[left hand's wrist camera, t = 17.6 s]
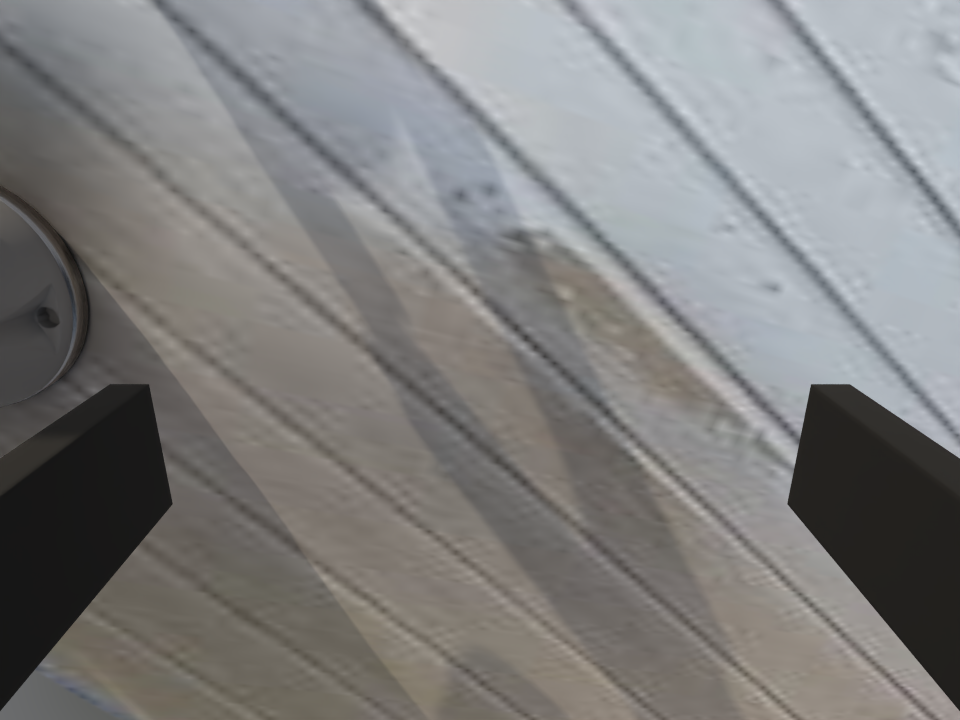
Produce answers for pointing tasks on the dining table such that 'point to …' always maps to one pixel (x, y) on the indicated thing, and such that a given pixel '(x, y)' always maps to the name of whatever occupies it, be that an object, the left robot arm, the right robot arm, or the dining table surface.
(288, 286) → the dining table surface
